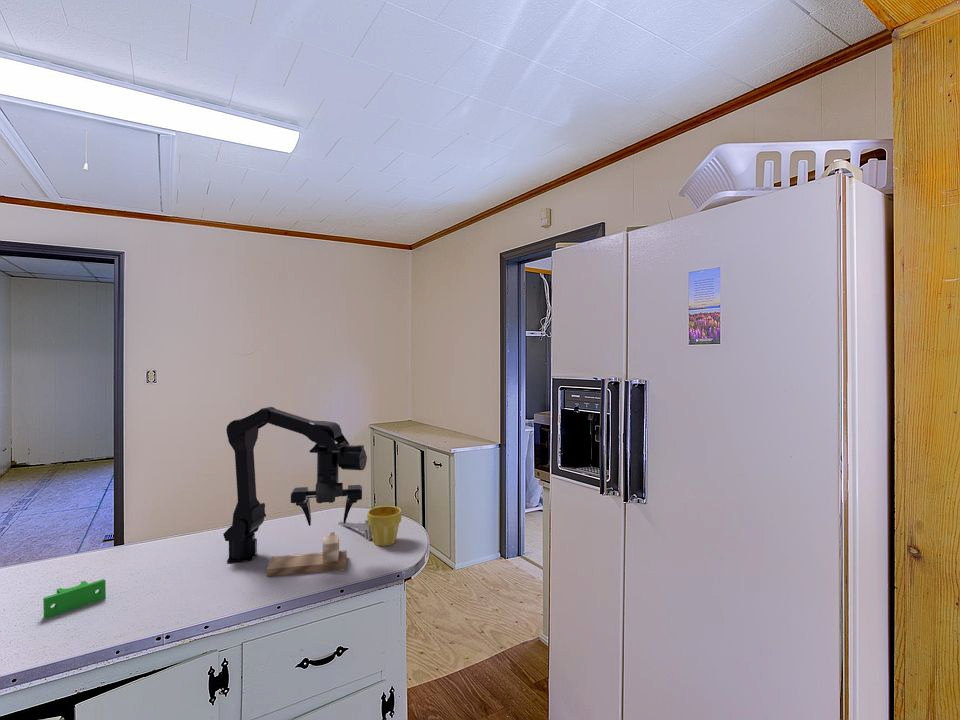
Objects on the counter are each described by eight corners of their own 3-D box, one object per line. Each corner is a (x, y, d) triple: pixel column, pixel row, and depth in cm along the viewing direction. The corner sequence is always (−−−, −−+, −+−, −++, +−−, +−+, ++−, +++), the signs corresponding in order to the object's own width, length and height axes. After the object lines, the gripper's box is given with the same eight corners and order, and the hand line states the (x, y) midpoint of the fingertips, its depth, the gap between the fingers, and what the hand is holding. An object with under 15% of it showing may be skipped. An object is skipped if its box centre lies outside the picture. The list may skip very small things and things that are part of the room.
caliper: (372, 540, 155) (372, 521, 155) (369, 541, 154) (369, 521, 154) (340, 523, 170) (340, 505, 170) (337, 524, 169) (337, 506, 169)
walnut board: (266, 576, 130) (266, 568, 130) (272, 563, 138) (272, 556, 138) (345, 569, 134) (345, 561, 134) (346, 557, 142) (346, 550, 142)
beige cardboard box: (322, 562, 134) (322, 544, 134) (325, 549, 143) (325, 532, 143) (338, 561, 135) (338, 543, 135) (339, 548, 144) (339, 531, 143)
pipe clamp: (99, 594, 120) (99, 575, 120) (105, 599, 118) (105, 580, 118) (39, 614, 111) (39, 593, 111) (44, 619, 109) (45, 598, 109)
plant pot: (370, 551, 147) (370, 518, 146) (364, 538, 156) (364, 507, 156) (404, 546, 151) (404, 514, 150) (397, 534, 160) (397, 504, 160)
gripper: (287, 477, 128) (287, 537, 128) (362, 474, 132) (361, 532, 132) (293, 467, 139) (293, 522, 139) (362, 464, 143) (361, 518, 143)
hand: (327, 524), depth 138 cm, fingers open, 9 cm apart
